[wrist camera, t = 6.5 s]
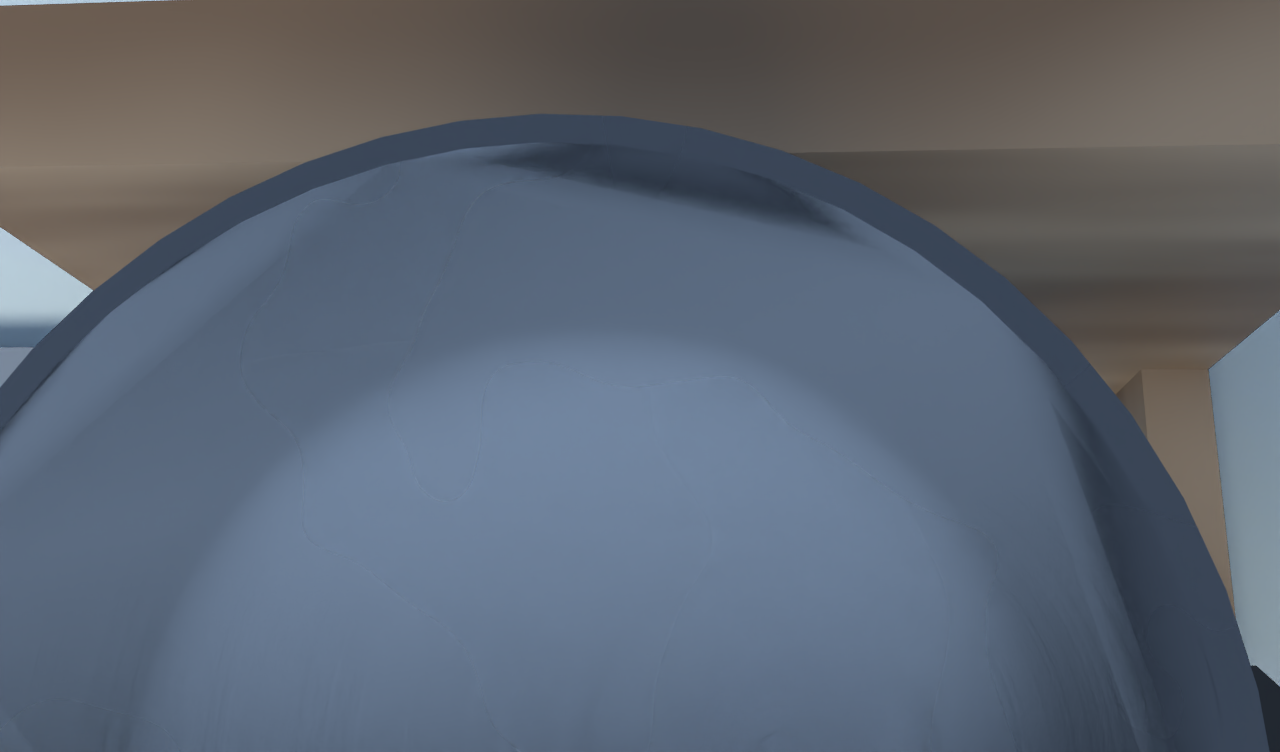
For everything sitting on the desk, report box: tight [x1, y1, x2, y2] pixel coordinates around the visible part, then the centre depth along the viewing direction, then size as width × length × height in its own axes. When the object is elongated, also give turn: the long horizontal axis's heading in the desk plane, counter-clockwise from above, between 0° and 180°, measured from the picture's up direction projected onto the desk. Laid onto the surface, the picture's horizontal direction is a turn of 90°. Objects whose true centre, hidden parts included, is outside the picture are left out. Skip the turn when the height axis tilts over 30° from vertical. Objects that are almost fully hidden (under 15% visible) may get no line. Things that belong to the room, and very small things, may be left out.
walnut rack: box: [0, 0, 1280, 619], centre depth 15 cm, size 16×16×9 cm
